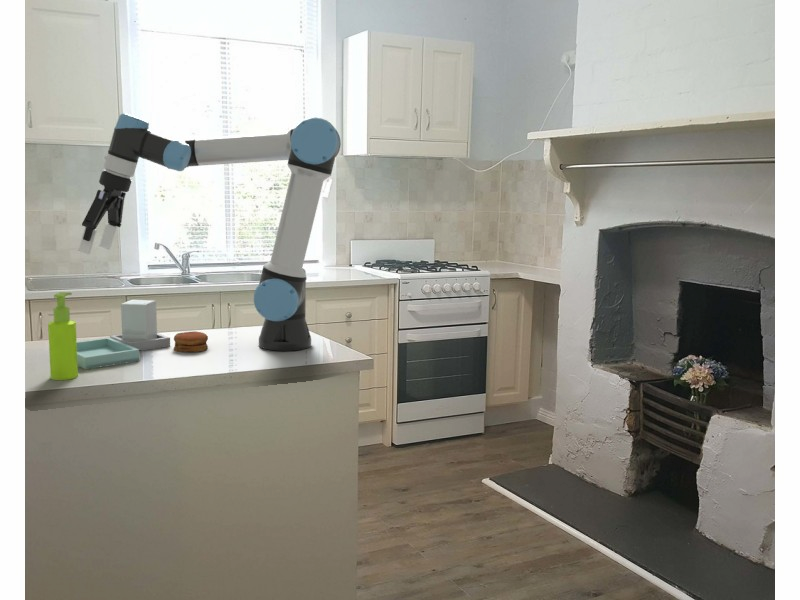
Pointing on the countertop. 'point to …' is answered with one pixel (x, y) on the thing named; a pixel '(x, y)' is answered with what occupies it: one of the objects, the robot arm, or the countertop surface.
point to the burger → (190, 341)
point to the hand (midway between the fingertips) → (94, 250)
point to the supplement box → (139, 320)
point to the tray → (104, 353)
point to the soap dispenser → (62, 342)
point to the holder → (145, 342)
